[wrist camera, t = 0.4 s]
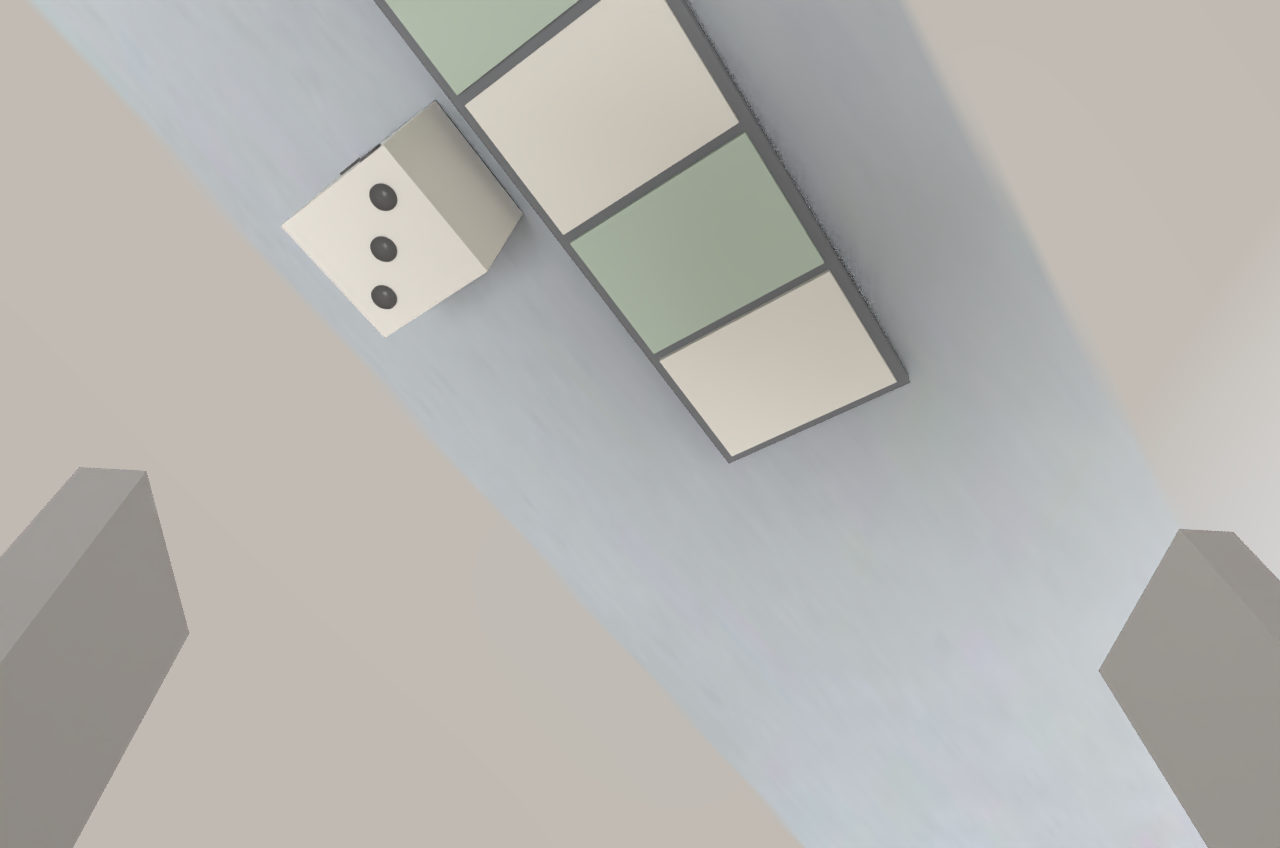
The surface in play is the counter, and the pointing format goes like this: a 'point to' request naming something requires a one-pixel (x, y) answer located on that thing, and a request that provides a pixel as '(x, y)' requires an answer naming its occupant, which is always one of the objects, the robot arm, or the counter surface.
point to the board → (664, 202)
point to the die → (407, 222)
